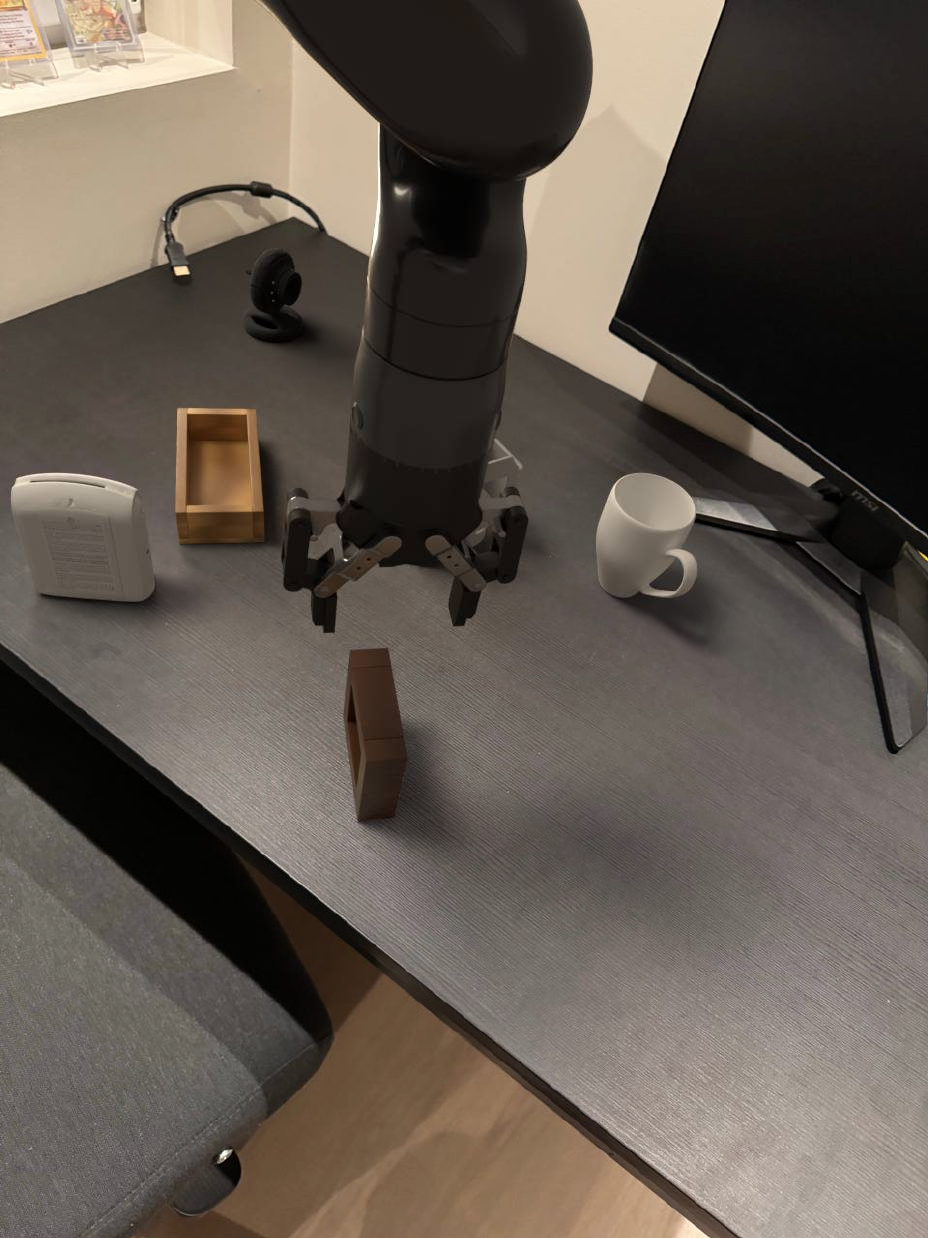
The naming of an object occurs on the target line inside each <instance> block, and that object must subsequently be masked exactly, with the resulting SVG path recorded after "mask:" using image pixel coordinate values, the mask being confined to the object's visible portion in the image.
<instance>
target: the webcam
mask: <svg viewBox="0 0 928 1238" xmlns="http://www.w3.org/2000/svg"><path fill="white" fill-rule="evenodd" d="M245 274H247V275H248V276H250V279H249V288H248V289H249V297H250V301H251V303H252V305H253V306H250V307H249V308H248V309H247V310H245V311H244V313H243V316H242V325H243V328H244V329H245V330H246V331H247V333H248V334H249V335H252V336H253V337H255V338H256V339H259V340H263V341H268V342H283V341H290V340H292V339H294V338H296V337H298V335H299V334H300V333H301V332H302V330H303V327H304V323H303V318H302V316H301V315H300V314H299V313H298V312H297V311H296V310H295V309H293V308H292V307H291V306H293V305H294V304H296V302H297V301H298V299H299V297H300V294H301V292H302V287H303V286H302V285H303V281H302V279H303V278H302V276H301V274H300V273H299V272H297V271H296V267H295V263H294V260H293V257H292V256H291V254H290V253H289V252H288V251H286V250H285V249H284V248H278V247H271V248H268V249H266V250H265V251H264V252H262V254H261V255H260V257H258V259H256V262H255V263H254V266H253V268H250V267H247V268H246V269H245ZM256 319H260V320H261V319H262V320H265V321H267V322H269V323H271V324H273V325H274V326H276V327H277V328H275V329H274V328H267V327H264V326H261V325H259V324H257V323H256V322H255V320H256Z"/></svg>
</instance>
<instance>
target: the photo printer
mask: <svg viewBox="0 0 928 1238" xmlns="http://www.w3.org/2000/svg"><path fill="white" fill-rule="evenodd" d="M10 507H11V508H10V509H11V514H12V517H13V521H14V524H15V527H16V530H17V535H18V537H19V539H20V543H21V547H22V549H23V553H24V557H25V560H26V564H27V566H28V570H29V573H30V577H31V580H32V583H33V586H34V589H35V591H36V592H38V593H39V594H44V595H49V596H56V597H66V598H78V599H88V600H89V599H90V600H100V601H101V600H102V601H113V602H130V603H131V602H133V603H134V602H143V601H145V600H146V599H148V598H149V597H150V596H151V595H152V594H153V592H154V590H155V587H156V581H155V574H154V567H153V560H152V553H151V546H150V539H149V533H148V532H149V531H148V527H147V526H148V525H147V521H146V519H147V518H146V513H145V509H144V504H143V499H142V495H141V492H140V490H139V489H138V488H135V487H134V486H131V485H129V484H126V483H123V482H120V481H117V480H114V479H109V478H105V477H100V476H95V475H89V474H81V473H67V472H43V473H34V474H27V475H23V476H19V477H17V478H16V479H15V482H14V484H13V486H11V491H10Z"/></svg>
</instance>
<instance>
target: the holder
mask: <svg viewBox="0 0 928 1238" xmlns="http://www.w3.org/2000/svg"><path fill="white" fill-rule="evenodd" d="M176 412H177V413H176V454H175V455H176V457H175V459H176V460H175V461H176V462H175V497H174V498H175V501H174V504H175V506H174V507H175V508H174V514H175V515H174V516H175V523H176V530H177V538H178V544H180V545H188V544H192V545H193V544H228V543H229V544H234V543H264V542H265V514H264V513H265V511H264V499H263V498H264V497H263V483H262V482H263V481H262V469H261V457H260V455H261V454H260V444H259V430H258V427H259V426H258V416H257V415H258V414H257V409H256V408H210V407H209V408H205V407H204V408H201V407H200V408H199V407H198V408H197V407H178V408H177V411H176Z"/></svg>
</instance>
